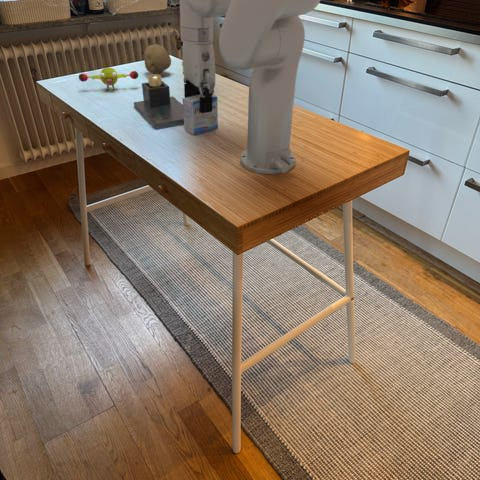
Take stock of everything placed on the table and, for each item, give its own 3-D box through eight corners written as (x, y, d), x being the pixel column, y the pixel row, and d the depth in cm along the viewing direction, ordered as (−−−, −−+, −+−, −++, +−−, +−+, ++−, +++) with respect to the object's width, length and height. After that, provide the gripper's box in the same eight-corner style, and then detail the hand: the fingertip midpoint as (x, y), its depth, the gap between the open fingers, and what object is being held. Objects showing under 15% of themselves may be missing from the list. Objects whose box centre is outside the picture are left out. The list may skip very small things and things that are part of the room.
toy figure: (80, 94, 138) (76, 72, 134) (81, 88, 142) (77, 66, 138) (140, 91, 141) (137, 69, 137) (139, 85, 146) (137, 64, 142)
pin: (164, 94, 127) (162, 76, 124) (152, 96, 126) (150, 78, 123) (160, 91, 130) (158, 73, 127) (148, 92, 128) (146, 75, 125)
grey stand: (197, 122, 122) (196, 98, 118) (154, 129, 117) (152, 105, 113) (173, 101, 134) (171, 79, 131) (134, 107, 130) (131, 84, 126)
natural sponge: (174, 71, 159) (172, 41, 153) (168, 79, 152) (166, 48, 146) (149, 70, 159) (146, 40, 153) (142, 78, 152) (139, 47, 146)
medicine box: (193, 135, 114) (191, 102, 109) (183, 130, 117) (181, 97, 112) (218, 128, 118) (218, 96, 113) (208, 123, 121) (207, 91, 116)
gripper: (228, 41, 100) (226, 115, 110) (197, 23, 112) (198, 92, 122) (197, 44, 97) (198, 120, 107) (168, 26, 109) (172, 95, 119)
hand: (198, 105), depth 115 cm, fingers open, 9 cm apart
